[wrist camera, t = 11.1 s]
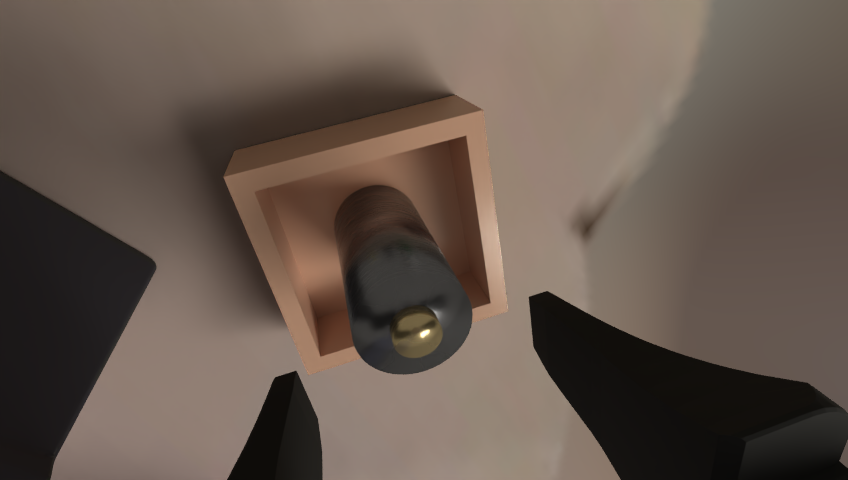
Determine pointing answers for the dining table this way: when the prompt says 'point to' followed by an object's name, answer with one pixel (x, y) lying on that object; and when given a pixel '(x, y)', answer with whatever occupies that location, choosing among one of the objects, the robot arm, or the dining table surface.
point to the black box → (55, 321)
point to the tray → (343, 175)
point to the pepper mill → (397, 284)
